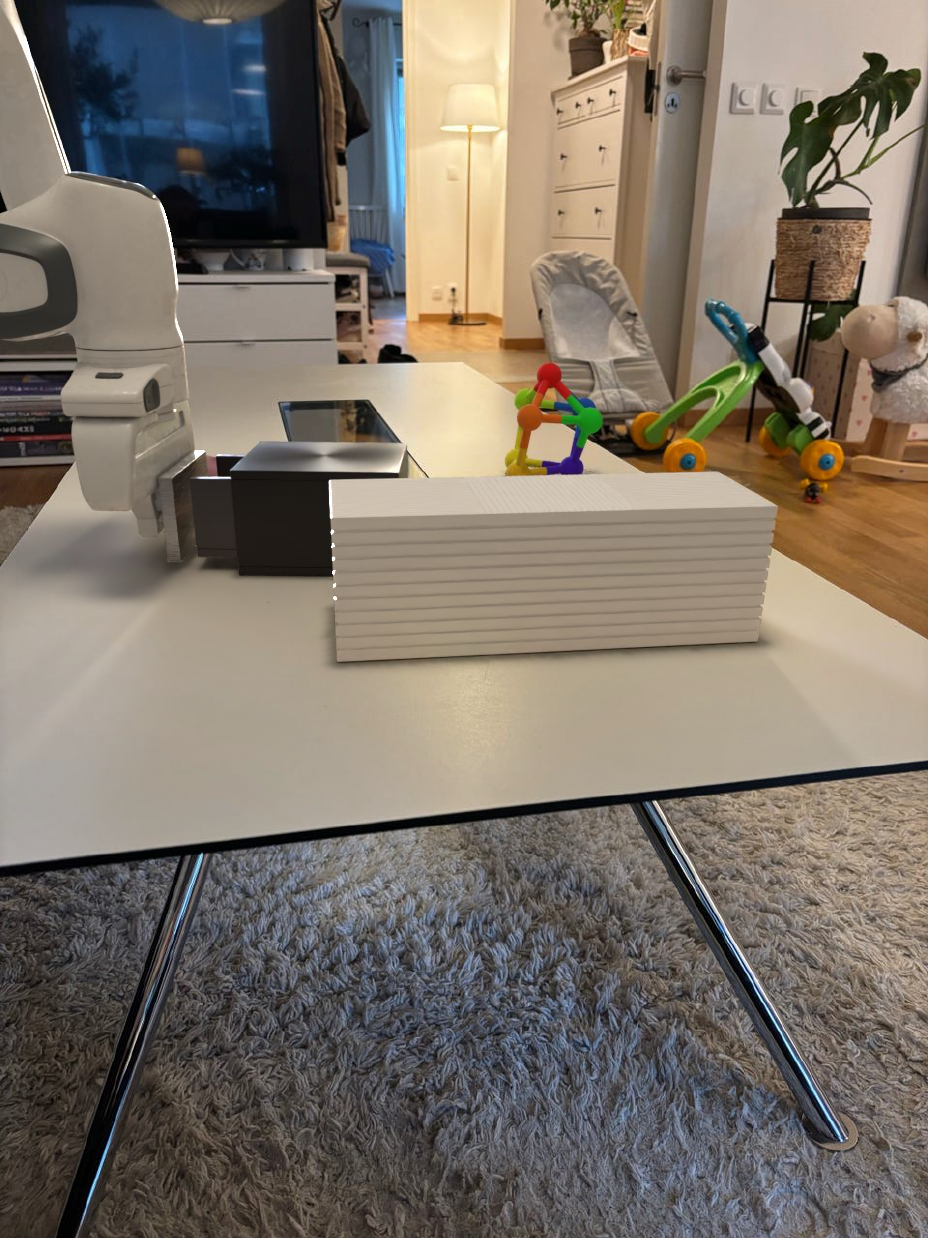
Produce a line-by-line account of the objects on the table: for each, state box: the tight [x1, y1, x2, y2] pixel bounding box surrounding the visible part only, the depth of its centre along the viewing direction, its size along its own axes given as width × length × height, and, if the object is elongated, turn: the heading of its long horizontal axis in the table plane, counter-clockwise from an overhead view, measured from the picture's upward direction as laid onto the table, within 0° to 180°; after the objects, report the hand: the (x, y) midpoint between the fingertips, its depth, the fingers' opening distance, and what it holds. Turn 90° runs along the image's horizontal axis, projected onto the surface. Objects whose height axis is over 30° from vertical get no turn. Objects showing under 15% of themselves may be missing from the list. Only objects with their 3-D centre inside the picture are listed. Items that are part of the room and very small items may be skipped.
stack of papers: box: [329, 471, 779, 663], centre depth 70 cm, size 32×11×11 cm, turn 98°
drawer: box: [158, 450, 246, 563], centre depth 86 cm, size 15×11×8 cm
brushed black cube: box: [230, 440, 408, 577], centre depth 86 cm, size 15×13×10 cm
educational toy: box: [504, 362, 604, 476], centre depth 115 cm, size 16×13×15 cm
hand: (153, 532), depth 85 cm, fingers closed
